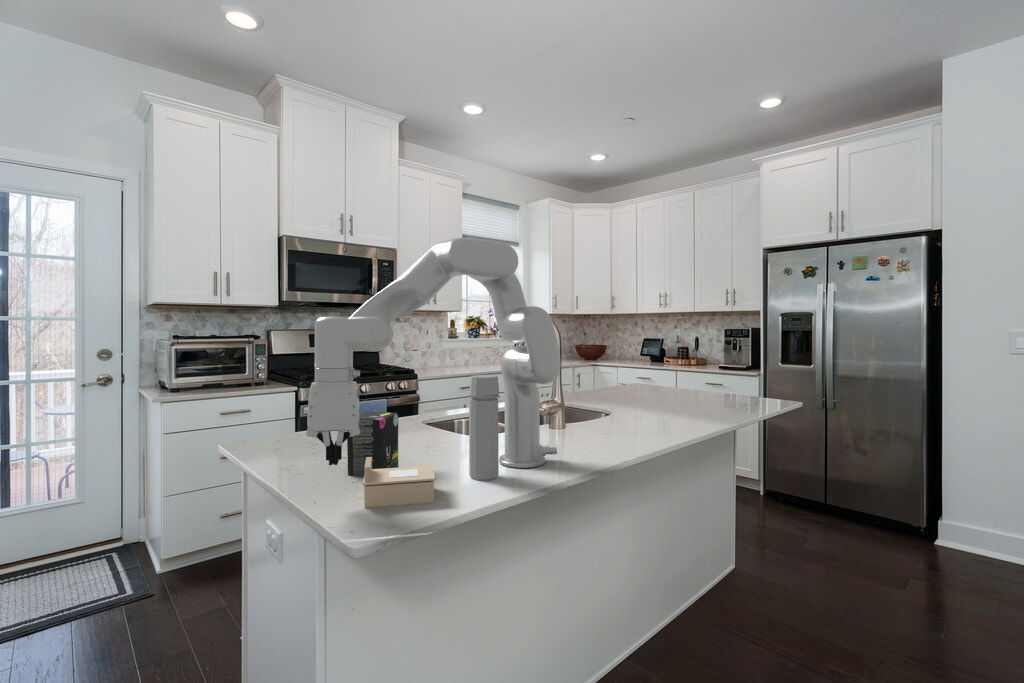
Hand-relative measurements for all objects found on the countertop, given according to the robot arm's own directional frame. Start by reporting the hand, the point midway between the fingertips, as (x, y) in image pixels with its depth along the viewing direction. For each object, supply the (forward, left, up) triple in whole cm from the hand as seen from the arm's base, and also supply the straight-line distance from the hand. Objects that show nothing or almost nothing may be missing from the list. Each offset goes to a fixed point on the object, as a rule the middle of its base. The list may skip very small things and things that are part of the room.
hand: (333, 463), depth 107 cm
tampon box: (-7, -22, -9) cm, 25 cm away
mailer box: (-13, 0, -9) cm, 16 cm away
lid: (-13, 0, -4) cm, 14 cm away
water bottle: (-34, -11, -9) cm, 37 cm away
